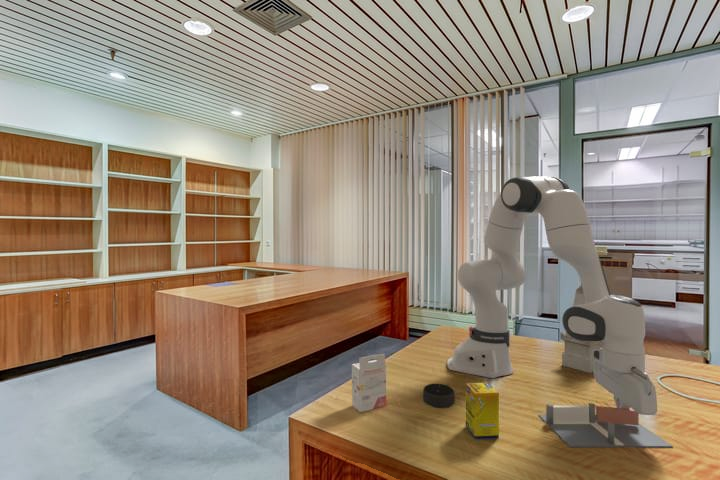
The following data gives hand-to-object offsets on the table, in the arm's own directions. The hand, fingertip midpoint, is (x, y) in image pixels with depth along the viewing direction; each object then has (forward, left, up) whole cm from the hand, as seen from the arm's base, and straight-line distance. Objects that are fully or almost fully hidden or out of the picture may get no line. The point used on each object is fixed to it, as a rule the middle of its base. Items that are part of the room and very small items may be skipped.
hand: (622, 415), depth 92 cm
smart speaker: (-45, -4, -2) cm, 45 cm away
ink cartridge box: (-63, -13, -2) cm, 65 cm away
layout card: (-6, -6, -2) cm, 9 cm away
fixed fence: (-11, -9, -2) cm, 14 cm away
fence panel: (-2, -2, -1) cm, 3 cm away
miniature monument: (0, +43, -2) cm, 43 cm away
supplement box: (-33, -17, -2) cm, 37 cm away
